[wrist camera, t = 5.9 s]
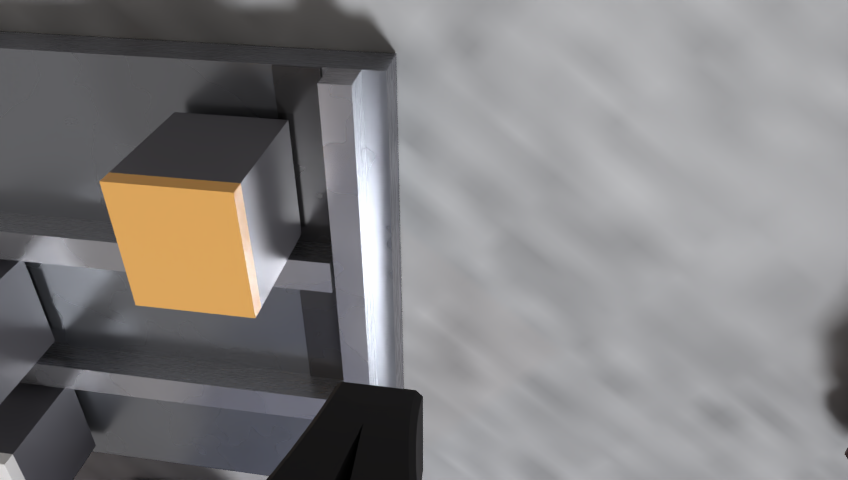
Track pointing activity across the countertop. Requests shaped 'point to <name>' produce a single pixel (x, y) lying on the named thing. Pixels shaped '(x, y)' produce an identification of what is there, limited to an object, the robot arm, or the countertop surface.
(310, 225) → the panel
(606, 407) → the countertop surface
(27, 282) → the block
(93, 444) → the block
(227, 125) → the block
